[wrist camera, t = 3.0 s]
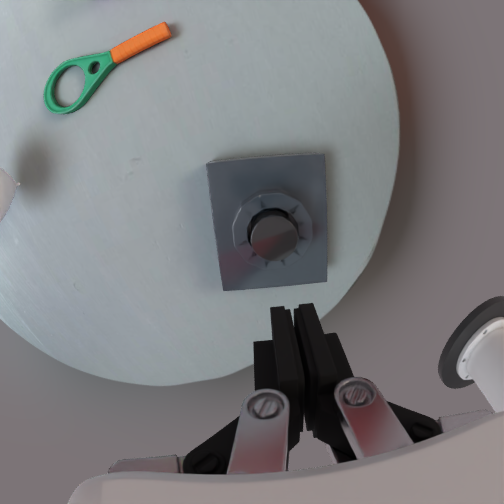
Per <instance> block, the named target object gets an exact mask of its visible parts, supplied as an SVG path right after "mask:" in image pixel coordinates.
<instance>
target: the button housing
mask: <svg viewBox="0 0 504 504" xmlns="http://www.w3.org/2000/svg"><path fill="white" fill-rule="evenodd" d="M206 168H207V176H208V184H209V193H210V200H211V208H212V216H213V223H214V231H215V238H216V245H217V252H218V259H219V266H220V273H221V279H222V286H223V291H232V290H245V289H257V288H268V287H279V286H290V285H300V284H310V283H320V282H327V200H326V175H325V156H324V154H321V153H296V154H280V155H266V156H254V157H243V158H234V159H224V160H216V161H210V162H208V163H207V164H206ZM271 210H275V211H280V212H282V213H284V214H286V215H287V216H288V217H289V218H290V219H291V221H292V222H293V224H294V226H295V228H296V231H297V234H298V242H297V246H296V248H295V250H294V251H293V253H292V254H291V255H290V256H288V257H287V258H285V259H283V260H280V261H268V260H265V259H263V258H261V257H259V256H258V255H257V254H256V253H255V251H254V250H253V248H252V245H251V226H252V224H253V222H254V220H255V219H256V218H257V216H259V215H260V214H262V213H264V212H266V211H271Z"/></svg>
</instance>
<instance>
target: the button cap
mask: <svg viewBox="0 0 504 504" xmlns="http://www.w3.org/2000/svg"><path fill="white" fill-rule="evenodd" d="M297 242H298V234H297V231H296V228H295V226H294V224H293V222H292V221H291V219H290V218H289V217H288V216H287V215H286V214H284V213H282V212H280V211H275V210H271V211H266V212H264V213H262V214H260V215H259V216H257V218H256V219H255V220H254V222H253V224H252V226H251V245H252V248H253V250H254V251H255V253H256V254H257V255H258V256H259V257H261V258H263V259H265V260H268V261H280V260H283V259H285V258H287V257H288V256H290V255H291V254H292V253H293V251H294V250H295V248H296V246H297Z"/></svg>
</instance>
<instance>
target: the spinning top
mask: <svg viewBox="0 0 504 504" xmlns="http://www.w3.org/2000/svg"><path fill="white" fill-rule="evenodd" d="M19 185H20V183H16V182H15V181H14V179H13V178H12V177H11V176H10V175H9V174H8V173H7V172H6V171H5V170H4V169H2V168H1V167H0V222H1V221H2V219H3V218H4V216H5V215H6V213H7V211H8V209H9V207H10V205H11V203H12V200H13V198H14V195H15V192H16V187H17V186H19Z"/></svg>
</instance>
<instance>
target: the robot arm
mask: <svg viewBox="0 0 504 504" xmlns="http://www.w3.org/2000/svg"><path fill="white" fill-rule="evenodd" d="M270 312H271V325H272V339H273V340H267V341H255V342H254V378H255V391H254V392H252V393H251V394H249V395H248V396H247V397H246V398H245V399H244V401H243V404H242V408H241V412H240V416H239V417H237V418H236V419H235V420H233V421H232V422H231V423H229V424H228V425H227V426H226V427H224V428H223V429H221V430H220V431H219V432H217V433H216V434H215V435H213V436H212V437H210V438H209V439H208V440H206V441H205V442H204V443H202V444H201V445H199V446H198V447H196V448H195V449H194V450H192V451H191V452H190V453H188V454H187V455H186V456H182V457H177V455H169V456H161V457H149V458H137V459H123V460H118V461H117V462H115V463H113V464H112V466H111V467H110V468H109V471H108V474H105V475H100V476H96V477H93V478H90V479H87V480H85V481H84V482H82V483H81V484H80V485H79V486H78V487H77V488H76V489H75V491H74V492H73V494H72V495H71V497H70V499H69V501H68V503H67V504H504V317H497V318H494V319H492V320H490V321H488V322H487V323H485V324H484V325H483V326H481V327H480V328H479V329H478V330H477V331H476V332H475V333H474V334H473V335H472V337H471V338H470V339H469V340H468V342H467V343H466V345H465V346H464V348H463V349H462V351H461V353H460V355H459V358H458V361H457V365H456V370H457V373H458V375H459V376H460V377H461V378H462V379H464V380H470V379H473V380H474V381H475V383H476V384H477V386H478V387H479V389H480V390H481V391H482V393H483V394H484V396H485V397H486V399H487V400H488V402H489V403H490V405H491V406H492V408H493V409H494V411H495V412H496V413H494V414H493V413H492V412H491V411H488V410H477V411H472V412H467V413H462V414H456V415H450V416H443V417H439V419H438V420H434V419H432V418H430V417H428V416H425V415H422V414H419V413H417V412H414V411H411V410H408V409H406V408H403V407H401V406H398V405H396V404H393V403H391V402H388V401H386V400H385V399H384V397H383V395H382V394H381V392H380V391H379V390H378V388H377V386H376V385H375V384H374V383H373V382H371V381H370V380H368V379H365V378H362V377H354V376H353V373H352V370H351V368H350V365H349V363H348V360H347V358H346V355H345V353H344V350H343V348H342V345H341V343H340V340H339V338H338V336H337V334H336V333H329V334H324V332H323V330H322V327H321V324H320V321H319V318H318V315H317V313H316V310H315V307H314V304H313V303H309V304H300V305H299V308H296V309H294V325H293V321H292V316H291V312H290V309H287V310H285V308H284V306H280V307H270ZM304 417H305V423H306V428H307V431H311V430H312V431H313V437H314V438H318V439H319V440H321V441H323V442H325V443H326V448H327V451H328V453H329V455H330V458H331V460H332V463H333V465H328V466H322V467H316V468H309V469H302V470H293V471H288V470H289V458H290V450H291V449H292V448H293V447H294V446H295V445H296V444H297V443H298V442H299V438H300V432H303V419H304Z"/></svg>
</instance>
